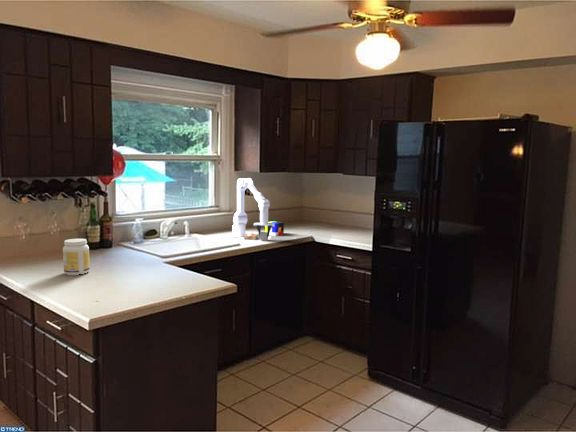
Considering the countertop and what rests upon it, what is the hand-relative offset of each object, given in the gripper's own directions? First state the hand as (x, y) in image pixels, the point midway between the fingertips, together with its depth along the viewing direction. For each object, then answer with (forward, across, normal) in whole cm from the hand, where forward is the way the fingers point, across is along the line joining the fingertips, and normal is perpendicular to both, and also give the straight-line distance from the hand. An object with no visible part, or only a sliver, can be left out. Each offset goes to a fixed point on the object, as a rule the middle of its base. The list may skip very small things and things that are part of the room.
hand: (264, 236), depth 332 cm
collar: (+4, -10, +5) cm, 12 cm away
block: (+2, 0, 0) cm, 2 cm away
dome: (+3, -10, +5) cm, 12 cm away
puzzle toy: (+4, +3, +26) cm, 26 cm away
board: (+4, 0, +6) cm, 7 cm away
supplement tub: (+4, -76, -106) cm, 130 cm away
